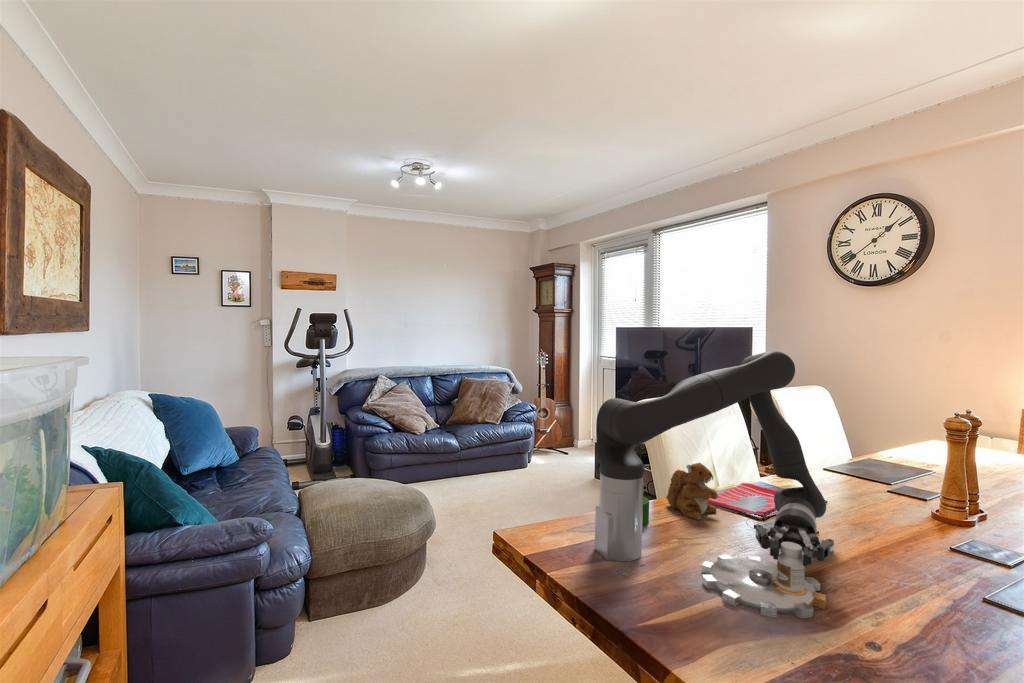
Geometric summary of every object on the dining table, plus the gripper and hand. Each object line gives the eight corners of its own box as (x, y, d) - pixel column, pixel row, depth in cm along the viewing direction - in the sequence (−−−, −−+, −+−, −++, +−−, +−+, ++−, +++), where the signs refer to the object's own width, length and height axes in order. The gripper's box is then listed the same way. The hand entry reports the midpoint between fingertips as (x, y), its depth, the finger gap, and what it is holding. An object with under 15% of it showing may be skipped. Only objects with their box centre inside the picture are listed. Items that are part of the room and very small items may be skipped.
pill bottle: (771, 581, 96) (773, 540, 96) (793, 580, 97) (795, 540, 97) (786, 593, 92) (787, 551, 92) (809, 592, 92) (810, 550, 92)
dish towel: (799, 503, 147) (800, 494, 146) (764, 523, 131) (764, 513, 131) (740, 489, 159) (740, 480, 159) (701, 505, 144) (702, 496, 144)
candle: (649, 517, 133) (650, 479, 132) (647, 529, 125) (648, 488, 124) (617, 512, 135) (618, 475, 135) (613, 524, 127) (614, 484, 127)
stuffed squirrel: (700, 522, 130) (702, 470, 129) (655, 505, 141) (657, 458, 141) (723, 514, 136) (724, 465, 135) (678, 499, 147) (679, 453, 147)
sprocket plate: (755, 626, 84) (756, 611, 84) (679, 567, 105) (679, 555, 105) (854, 609, 90) (854, 595, 90) (763, 556, 111) (763, 545, 110)
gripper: (758, 501, 110) (747, 528, 95) (836, 515, 103) (838, 546, 88) (757, 535, 110) (746, 567, 96) (835, 552, 103) (836, 589, 88)
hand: (790, 557), depth 92 cm, fingers closed on pill bottle, 4 cm apart
